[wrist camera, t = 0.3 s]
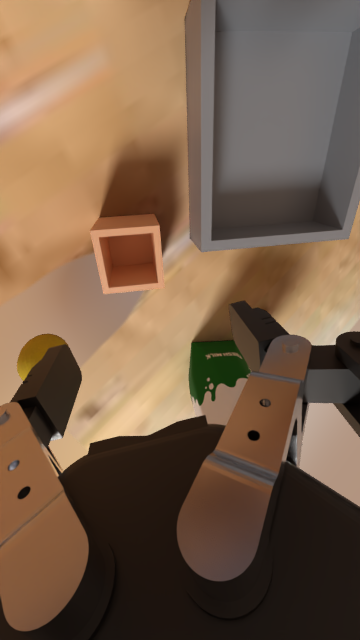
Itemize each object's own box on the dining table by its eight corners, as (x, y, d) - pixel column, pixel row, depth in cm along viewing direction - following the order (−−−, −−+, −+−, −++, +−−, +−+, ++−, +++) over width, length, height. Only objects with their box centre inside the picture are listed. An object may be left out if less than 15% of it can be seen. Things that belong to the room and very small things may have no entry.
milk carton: (182, 382, 42) (216, 526, 25) (185, 336, 38) (228, 474, 21) (233, 378, 44) (297, 512, 27) (242, 333, 39) (326, 460, 22)
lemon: (77, 326, 34) (63, 365, 27) (73, 358, 37) (60, 402, 30) (31, 319, 33) (5, 359, 26) (31, 353, 35) (6, 398, 28)
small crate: (99, 217, 28) (89, 230, 22) (154, 213, 29) (159, 225, 23) (109, 270, 31) (103, 294, 25) (158, 265, 32) (164, 288, 26)
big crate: (184, 18, 21) (200, -29, 16) (359, 20, 23) (422, -22, 18) (189, 238, 31) (201, 251, 26) (314, 227, 32) (348, 238, 27)
